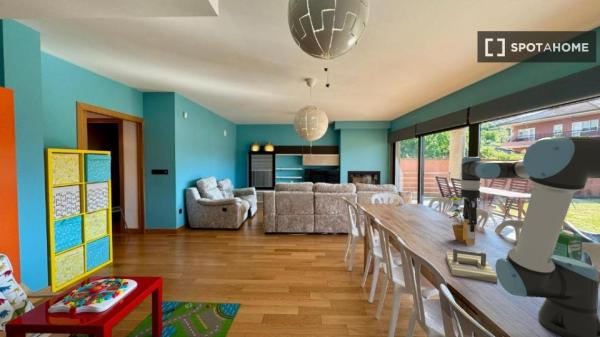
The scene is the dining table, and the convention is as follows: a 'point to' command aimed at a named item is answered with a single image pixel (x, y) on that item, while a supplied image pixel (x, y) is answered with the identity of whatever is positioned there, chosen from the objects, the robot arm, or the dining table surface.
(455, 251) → the gray u-shaped bracket
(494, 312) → the dining table surface
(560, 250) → the milk carton
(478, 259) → the beige open frame
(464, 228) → the orange u-shaped bracket
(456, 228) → the potted plant
